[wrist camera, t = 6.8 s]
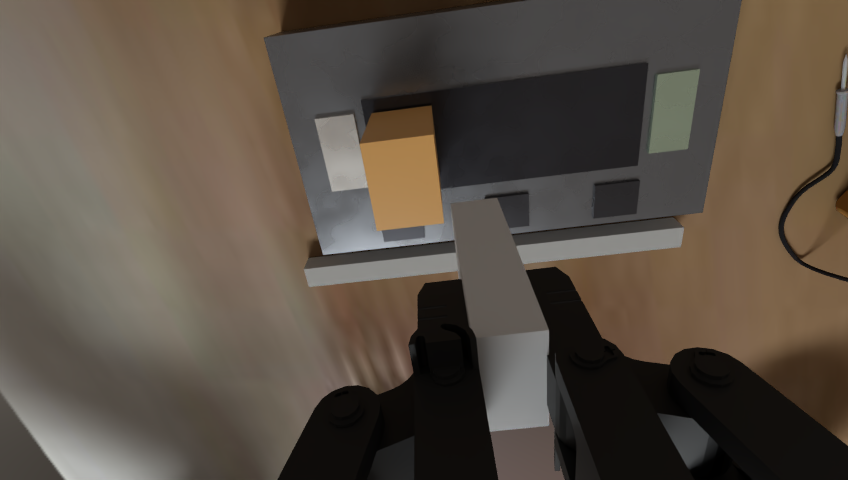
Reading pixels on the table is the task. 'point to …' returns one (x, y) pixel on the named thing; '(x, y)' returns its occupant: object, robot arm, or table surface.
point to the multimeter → (844, 204)
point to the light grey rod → (528, 245)
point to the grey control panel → (514, 109)
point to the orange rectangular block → (402, 168)
